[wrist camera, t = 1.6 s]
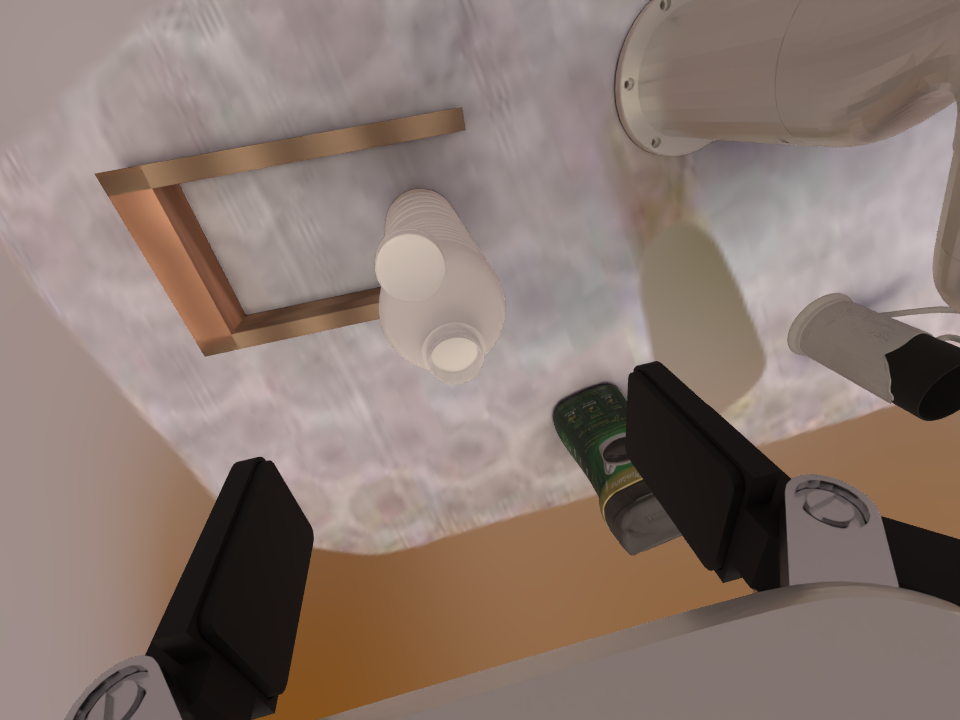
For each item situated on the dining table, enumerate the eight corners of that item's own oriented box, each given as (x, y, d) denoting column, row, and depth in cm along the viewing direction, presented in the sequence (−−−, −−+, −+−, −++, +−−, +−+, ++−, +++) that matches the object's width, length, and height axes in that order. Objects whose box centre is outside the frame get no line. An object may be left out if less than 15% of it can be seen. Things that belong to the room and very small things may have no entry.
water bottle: (467, 244, 39) (552, 391, 18) (405, 270, 39) (417, 447, 18) (429, 149, 35) (485, 196, 13) (359, 180, 35) (305, 275, 14)
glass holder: (782, 319, 51) (911, 386, 38) (893, 253, 49) (1068, 300, 36) (792, 366, 56) (911, 439, 43) (894, 307, 53) (1050, 365, 41)
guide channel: (455, 108, 33) (462, 107, 30) (482, 280, 41) (490, 294, 38) (126, 167, 31) (94, 173, 28) (221, 336, 39) (204, 356, 36)
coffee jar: (561, 445, 55) (627, 575, 39) (545, 403, 51) (612, 530, 35) (627, 417, 55) (721, 537, 39) (617, 373, 51) (717, 487, 35)
